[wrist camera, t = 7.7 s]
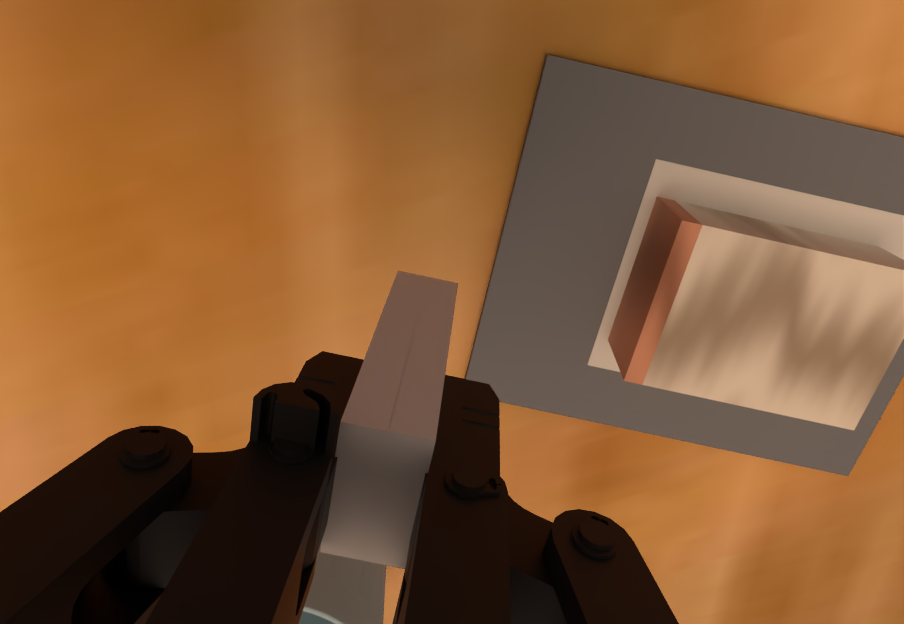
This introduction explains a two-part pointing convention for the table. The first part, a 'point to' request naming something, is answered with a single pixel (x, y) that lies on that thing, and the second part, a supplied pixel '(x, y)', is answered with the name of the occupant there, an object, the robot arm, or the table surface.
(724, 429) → the mat
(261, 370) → the table surface
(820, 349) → the block
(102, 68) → the table surface
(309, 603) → the cup
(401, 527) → the robot arm
